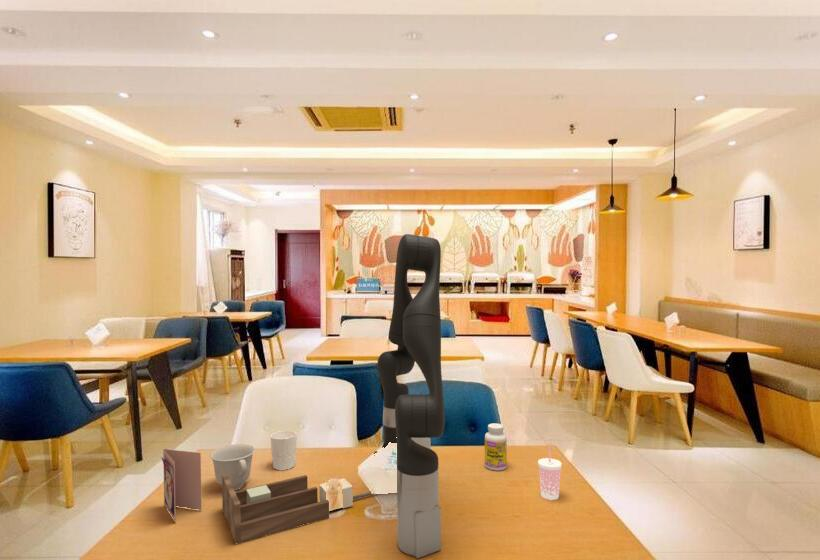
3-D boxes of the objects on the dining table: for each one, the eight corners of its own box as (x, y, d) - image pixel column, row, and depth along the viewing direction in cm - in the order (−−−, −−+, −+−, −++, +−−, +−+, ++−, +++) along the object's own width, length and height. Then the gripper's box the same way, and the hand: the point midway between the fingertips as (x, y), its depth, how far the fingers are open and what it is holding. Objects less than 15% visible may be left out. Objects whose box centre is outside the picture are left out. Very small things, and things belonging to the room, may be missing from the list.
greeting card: (160, 507, 122) (159, 449, 122) (191, 498, 127) (190, 442, 127) (171, 525, 113) (170, 463, 113) (204, 514, 118) (203, 455, 118)
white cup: (270, 463, 150) (270, 431, 150) (296, 459, 152) (295, 429, 152) (271, 473, 142) (270, 440, 142) (297, 469, 145) (297, 437, 145)
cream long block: (406, 491, 129) (405, 473, 129) (327, 513, 118) (327, 493, 118) (395, 482, 134) (395, 465, 134) (319, 503, 123) (319, 484, 123)
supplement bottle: (483, 470, 143) (483, 428, 143) (486, 461, 150) (486, 421, 149) (505, 472, 141) (505, 430, 141) (507, 463, 148) (507, 423, 147)
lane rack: (329, 517, 116) (328, 481, 116) (235, 544, 105) (234, 504, 105) (306, 489, 131) (305, 457, 131) (222, 509, 120) (221, 475, 120)
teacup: (221, 505, 123) (221, 467, 123) (204, 485, 134) (204, 450, 134) (266, 491, 130) (265, 455, 130) (246, 473, 142) (246, 440, 142)
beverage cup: (561, 502, 122) (561, 449, 122) (537, 499, 124) (537, 446, 124) (562, 492, 128) (561, 441, 128) (538, 489, 130) (538, 438, 130)
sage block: (271, 512, 119) (270, 492, 119) (250, 517, 117) (250, 497, 117) (266, 503, 124) (266, 484, 124) (246, 508, 121) (246, 489, 121)
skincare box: (431, 460, 151) (431, 423, 150) (421, 464, 148) (420, 426, 147) (419, 455, 155) (419, 418, 155) (408, 458, 152) (408, 421, 152)
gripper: (380, 430, 124) (381, 495, 124) (424, 421, 131) (425, 482, 131) (368, 422, 131) (368, 484, 131) (411, 414, 138) (411, 473, 138)
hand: (397, 483), depth 131 cm, fingers closed on cream long block, 2 cm apart
